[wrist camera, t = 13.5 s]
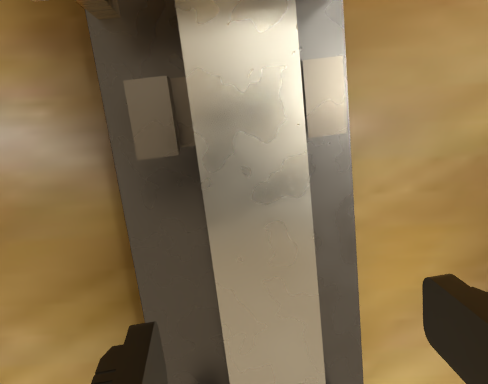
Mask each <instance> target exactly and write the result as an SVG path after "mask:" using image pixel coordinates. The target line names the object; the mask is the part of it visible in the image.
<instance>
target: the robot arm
mask: <svg viewBox="0 0 488 384" xmlns="http://www.w3.org/2000/svg"><path fill="white" fill-rule="evenodd" d="M423 326H424V331H425V335H426V337H427V339H428V341H429V343H430V345H431V346H432V347H433V348H434V349H435V350H436V351H437V352H438V354H439V355H440V356H441V357H442V358H443V359H444V360H445V361H446V362H447V363H448V364H449V365H450V367H451V368H452V369H453V370H454V371H455V372H456V373H457V374H458V375H459V376H460V377H461V378H462V380H463V381H464V382H465V383H466V384H488V292H485V291H482V290H480V289H477V288H474V287H470V286H468V285H467V284H466V283H464V282H463V281H461V280H460V279H459V278H457V277H456V276H454V275H453V274H445V275H439V276H433V277H427V278H425V279H424V281H423ZM91 384H168V379H167V370H166V364H165V359H164V354H163V349H162V343H161V338H160V333H159V328H158V324H157V322H156V321H154V322H148V323H142V324H136V325H130V326H129V329H128V332H127V336H126V339H125V342H124V345H118V346H112V347H111V348H110V349H109V350H108V351H107V353H106V354H105V355H104V356H103V357H102V358H101V359H100V361H99V364H98V367H97V369H96V372H95V375H94V377H93V380H92V383H91Z"/></svg>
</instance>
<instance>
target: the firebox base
mask: <svg viewBox="0 0 488 384" xmlns="http://www.w3.org/2000/svg"><path fill="white" fill-rule="evenodd" d="M31 1H33V2H37V1H47V0H31ZM75 1H76V2H77V3H78V4H80V5H81V6H82V7H83V8H85V12H86V17H87V22H88V28H89V33H90V38H91V43H92V48H93V54H94V59H95V64H96V69H97V75H98V80H99V85H100V90H101V95H102V101H103V106H104V111H105V116H106V121H107V127H108V132H109V137H110V142H111V148H112V153H113V158H114V163H115V168H116V174H117V179H118V184H119V189H120V194H121V200H122V205H123V210H124V215H125V220H126V226H127V231H128V236H129V241H130V247H131V252H132V257H133V262H134V267H135V273H136V278H137V283H138V288H139V293H140V299H141V304H142V309H143V314H144V319H145V323H148V322H154V321H156V322H157V324H158V328H159V333H160V338H161V343H162V349H163V354H164V359H165V364H166V370H167V379H168V384H230V381H229V374H228V367H227V361H226V354H225V347H224V340H223V333H222V326H221V319H220V312H219V305H218V298H217V291H216V284H215V277H214V270H213V263H212V256H211V249H210V242H209V235H208V228H207V221H206V214H205V207H204V200H203V193H202V186H201V180H200V173H199V166H198V159H197V152H196V145H195V138H194V131H193V124H192V117H191V110H190V103H189V96H188V89H187V82H186V75H185V68H184V61H183V54H182V47H181V40H180V33H179V26H178V19H177V12H176V6H175V0H75ZM295 3H296V16H297V28H298V41H299V53H300V66H301V79H302V91H303V104H304V116H305V129H306V142H307V154H308V167H309V179H310V192H311V204H312V217H313V230H314V242H315V255H316V267H317V280H318V293H319V305H320V318H321V330H322V343H323V356H324V368H325V381H326V384H363V367H362V348H361V329H360V311H359V292H358V273H357V255H356V236H355V217H354V199H353V180H352V161H351V143H350V124H349V105H348V87H347V68H346V49H345V31H344V12H343V0H295Z"/></svg>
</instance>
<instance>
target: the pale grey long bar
mask: <svg viewBox="0 0 488 384" xmlns="http://www.w3.org/2000/svg"><path fill="white" fill-rule="evenodd" d="M175 6H176V12H177V19H178V26H179V33H180V40H181V47H182V54H183V61H184V68H185V75H186V82H187V89H188V96H189V103H190V110H191V117H192V124H193V131H194V138H195V145H196V152H197V159H198V166H199V173H200V180H201V186H202V193H203V200H204V207H205V214H206V221H207V228H208V235H209V242H210V249H211V256H212V263H213V270H214V277H215V284H216V291H217V298H218V305H219V312H220V319H221V326H222V333H223V340H224V347H225V354H226V361H227V367H228V374H229V381H230V384H326V381H325V368H324V356H323V343H322V330H321V318H320V305H319V293H318V280H317V267H316V255H315V242H314V230H313V217H312V204H311V192H310V179H309V167H308V154H307V142H306V129H305V116H304V104H303V91H302V79H301V66H300V53H299V41H298V28H297V16H296V3H295V0H175Z"/></svg>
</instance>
